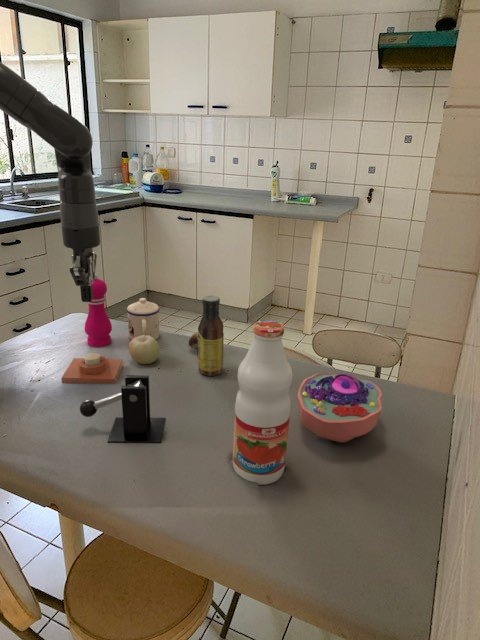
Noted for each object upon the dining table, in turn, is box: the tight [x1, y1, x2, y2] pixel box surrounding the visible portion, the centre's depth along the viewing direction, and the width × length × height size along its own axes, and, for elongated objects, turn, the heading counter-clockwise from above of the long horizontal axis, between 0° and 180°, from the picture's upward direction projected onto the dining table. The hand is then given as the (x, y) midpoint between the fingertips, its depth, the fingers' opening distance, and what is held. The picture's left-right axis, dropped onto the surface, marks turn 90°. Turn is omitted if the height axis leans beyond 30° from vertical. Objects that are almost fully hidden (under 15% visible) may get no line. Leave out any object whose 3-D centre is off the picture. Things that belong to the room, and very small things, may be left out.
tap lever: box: [79, 380, 144, 418], centre depth 88 cm, size 13×3×3 cm, turn 92°
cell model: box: [296, 372, 383, 444], centre depth 93 cm, size 17×20×11 cm
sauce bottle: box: [197, 294, 225, 377], centre depth 112 cm, size 7×6×20 cm
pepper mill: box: [84, 273, 113, 348], centre depth 125 cm, size 7×7×20 cm
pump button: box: [83, 352, 101, 366], centre depth 110 cm, size 4×4×2 cm
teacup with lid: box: [126, 297, 160, 341], centre depth 130 cm, size 12×9×12 cm
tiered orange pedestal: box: [60, 355, 124, 385], centre depth 111 cm, size 12×10×4 cm
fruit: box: [128, 334, 160, 365], centre depth 118 cm, size 8×7×8 cm
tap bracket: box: [107, 374, 166, 444], centre depth 89 cm, size 10×8×12 cm
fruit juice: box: [232, 319, 294, 486], centre depth 78 cm, size 9×9×28 cm
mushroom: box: [188, 331, 198, 350], centre depth 126 cm, size 8×8×6 cm
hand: (87, 300), depth 104 cm, fingers closed
